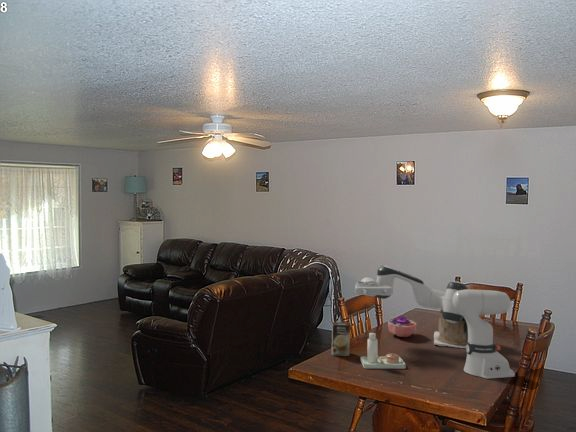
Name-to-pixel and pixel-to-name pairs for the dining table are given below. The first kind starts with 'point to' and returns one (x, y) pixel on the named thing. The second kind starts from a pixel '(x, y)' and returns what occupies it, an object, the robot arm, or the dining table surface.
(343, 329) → the coffee box
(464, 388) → the dining table surface
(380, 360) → the tray
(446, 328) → the cookie jar
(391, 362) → the sugar pot
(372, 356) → the bottle
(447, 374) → the dining table surface
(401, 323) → the cell model
